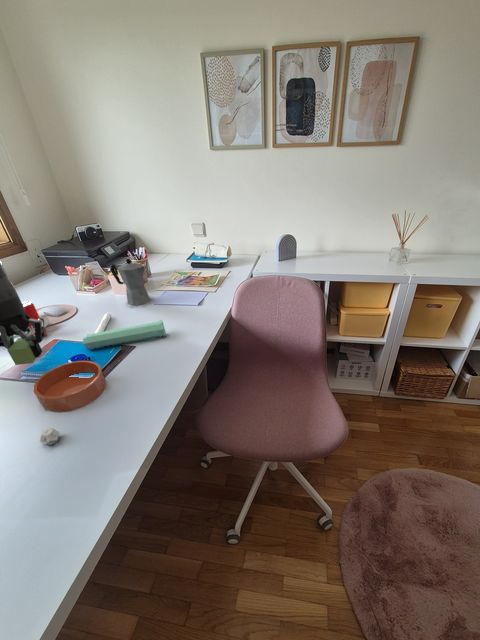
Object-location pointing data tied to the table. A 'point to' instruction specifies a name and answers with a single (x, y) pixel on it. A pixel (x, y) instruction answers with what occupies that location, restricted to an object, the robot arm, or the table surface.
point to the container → (124, 335)
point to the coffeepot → (132, 281)
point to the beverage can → (31, 313)
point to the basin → (69, 386)
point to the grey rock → (49, 436)
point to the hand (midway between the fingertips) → (28, 356)
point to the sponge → (21, 352)
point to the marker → (103, 323)
